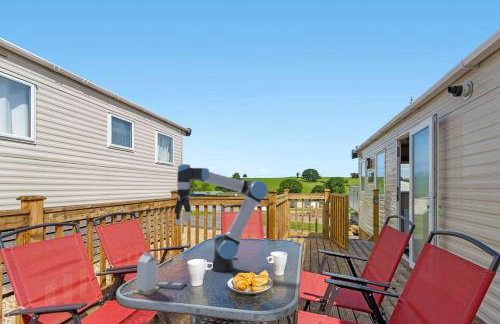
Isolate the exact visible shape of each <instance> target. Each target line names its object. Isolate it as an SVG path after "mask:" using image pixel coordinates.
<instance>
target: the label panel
mask: <svg viewBox="0 0 500 324" xmlns="http://www.w3.org/2000/svg"><path fill="white" fill-rule="evenodd" d="M186 285H187V282H184V281H182V282H181V281H168V280H159V281H158V282H156V287H159V289H166V290H167V289H168V290H169V289H170V290H182V289H183V288H184V287H186Z"/></svg>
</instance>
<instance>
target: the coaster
mask: <svg viewBox="0 0 500 324" xmlns="http://www.w3.org/2000/svg"><path fill="white" fill-rule="evenodd" d="M159 289H160V288H159V287H156V288H155V289H153V290H150V291H147V292H143V291H140V290H137V288H136V289H135V290H133V291H132V294H136V295H149V296H151V295H152V294H155V292H156V291H158V290H159Z"/></svg>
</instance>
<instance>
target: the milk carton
mask: <svg viewBox="0 0 500 324" xmlns="http://www.w3.org/2000/svg"><path fill="white" fill-rule="evenodd" d="M157 265H158V260H157V258H155V257H154V256H153V253H150V252H145V251H143V252H142V255H141V256H140V257H139V259H138V260H137V266H136V267H137V268H136V270H137V271H136V272H137V273H136V289H137V290H140V291H143V292H147V291H150V290H153V289H155V288H156V283H157V273H158V272H157V270H158V269H157Z"/></svg>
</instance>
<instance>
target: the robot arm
mask: <svg viewBox="0 0 500 324" xmlns="http://www.w3.org/2000/svg"><path fill="white" fill-rule="evenodd" d="M190 180H192V181H198V182H199V181H200V182H202V183H206V184H210V185H214V186H218V187H221V188H225V189H229V190H231V191H232V190H233V191H235V192H238V193H239V194H242V195H243V197H244V199H243V202H242V204H241V205H240V208H239V210H238V211H237V214H236V216H235V218H234V219H233V221H232V224H231V225H230V227H229V229H228V230H227V232H225V233H224V234H215V235H214V239H213V240H214V241H213V242H214V245H213V247H214V249H213V259H212V262H211V267H212V263H213V268H212V269H211V270H212V271H213V272H216V273H218V272H219V273H225V272H226V273H227V272H231V271H233V270H234V269H235V268H234V267H235V266H234V263H233V259H234V258H235V257H236V256H237V254H238V252H239V246H240V244H241V239H240V238H241V237H242V235H243V232H244V231H245V228H246V226H247V224H248V223H249V221H250V219H251V216H252V215H253V213H254V212H255V208H256V207H257V206H258V205H260V204H261V202H262V200H263V199H264V198H265V197H266V196H267V195H268V187H267V184H266V183H265V182H263V181H261V180H245V179H242V180H239V179H237V178H233V177H228V176H225V175H221V174H218V173H214V172H210V171H209V168H207V167H191V164H178V166H177V183H176V185H177V186H176V187H177V190H176V195H177V196H178V197H176V203H175V206H174V207H175V208H174V211H173V212H174V215H175V225H176V226H180V225H181V222H182V221H181V220H182V219H181V218H182V214H181V212H182V209H183V208H184V212H183V213H184V217H183V222H184V223H189V220H190V217H189V216H190V212H191V206H190V205H191V204H190V189H191V188H190V184H191V183H190V182H191V181H190ZM211 267H210V268H211Z"/></svg>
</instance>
